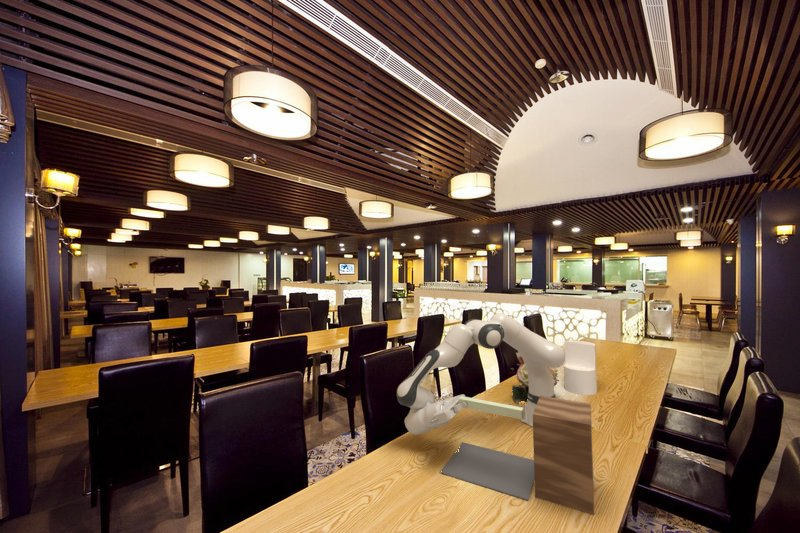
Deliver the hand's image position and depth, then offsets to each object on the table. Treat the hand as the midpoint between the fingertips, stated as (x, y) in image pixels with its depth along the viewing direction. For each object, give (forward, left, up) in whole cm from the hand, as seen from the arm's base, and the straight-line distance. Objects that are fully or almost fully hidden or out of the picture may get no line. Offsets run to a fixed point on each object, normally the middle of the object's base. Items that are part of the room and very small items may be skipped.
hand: (468, 401), depth 124 cm
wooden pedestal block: (+8, +31, -23) cm, 39 cm away
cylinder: (-94, +60, -23) cm, 113 cm away
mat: (+2, +8, -23) cm, 24 cm away
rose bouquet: (-74, +32, -23) cm, 84 cm away
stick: (+2, +8, -2) cm, 8 cm away
